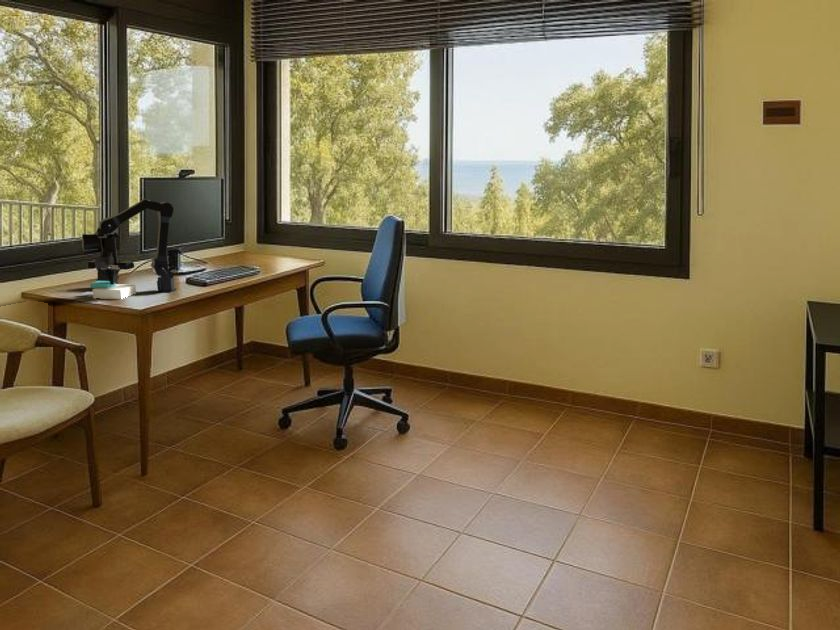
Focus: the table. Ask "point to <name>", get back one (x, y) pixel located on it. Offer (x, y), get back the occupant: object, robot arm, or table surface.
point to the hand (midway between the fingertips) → (112, 284)
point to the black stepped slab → (104, 276)
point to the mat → (86, 294)
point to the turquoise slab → (101, 284)
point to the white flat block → (114, 292)
